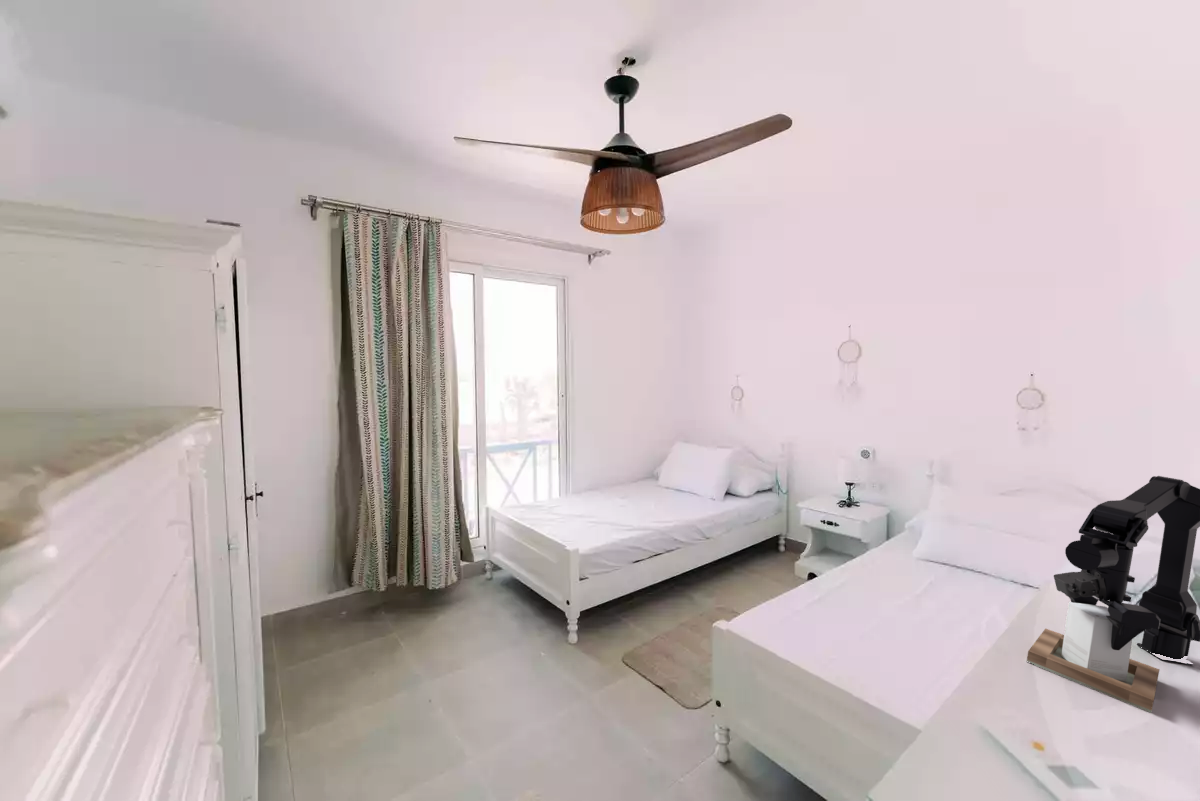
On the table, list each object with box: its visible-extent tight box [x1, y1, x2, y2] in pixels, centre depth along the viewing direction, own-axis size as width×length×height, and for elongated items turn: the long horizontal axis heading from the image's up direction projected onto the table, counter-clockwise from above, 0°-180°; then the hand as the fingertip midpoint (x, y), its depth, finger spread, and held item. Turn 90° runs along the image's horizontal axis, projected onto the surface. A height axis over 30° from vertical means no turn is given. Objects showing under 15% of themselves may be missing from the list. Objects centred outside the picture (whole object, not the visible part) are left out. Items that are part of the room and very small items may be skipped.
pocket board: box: [1026, 628, 1160, 714], centre depth 104 cm, size 18×18×2 cm
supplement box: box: [1061, 601, 1133, 681], centre depth 103 cm, size 7×7×13 cm
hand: (1097, 637), depth 103 cm, fingers open, 9 cm apart
